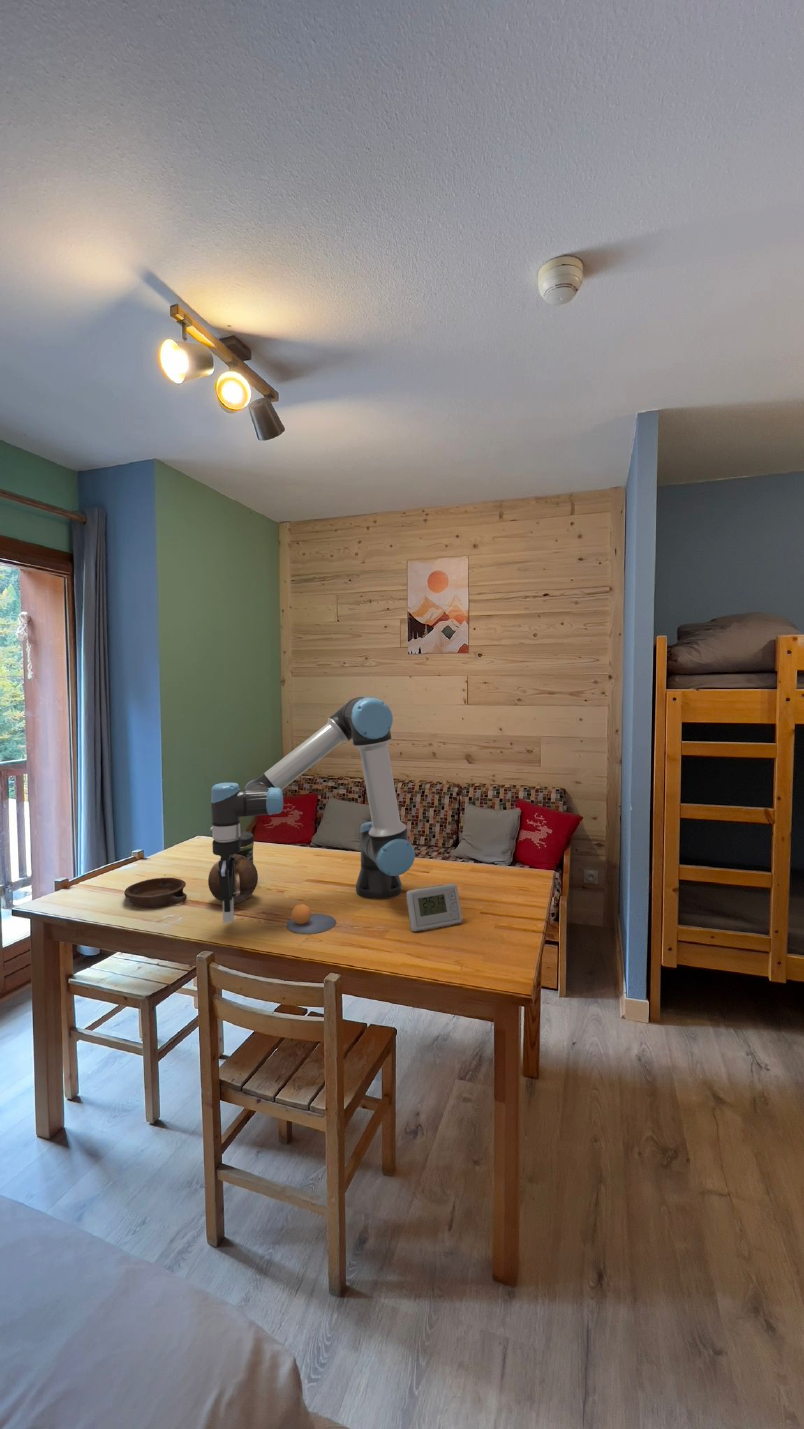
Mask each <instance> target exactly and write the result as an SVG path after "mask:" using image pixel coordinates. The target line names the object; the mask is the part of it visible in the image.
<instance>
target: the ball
mask: <svg viewBox="0 0 804 1429" xmlns="http://www.w3.org/2000/svg"><path fill="white" fill-rule="evenodd" d="M311 914H312V911H311V909H310V907H309V906H308V905H307V904H306V905H305V904H304V903H301V904H297V905H296V906H295V907H294V908H293V909H292V910H291V919H293V921H294V922H295V923H297V924H300V925H302V924H305V923H307V922H308V921H309V920H310V917H311Z"/></svg>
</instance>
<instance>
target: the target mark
mask: <svg viewBox="0 0 804 1429" xmlns="http://www.w3.org/2000/svg"><path fill="white" fill-rule="evenodd" d="M336 922H337V921H336V919H335V918H334V917H333V916H331V915H328V914H325V913H311V917H310V920H309V921H308V922H307V923H305V924H302V925H300V924H297V923H295V922H294V921H293V919H292V918H291V919H289V920H288V921H287V922H286V925H285V927H286V929H287V930H289V931H290V932H291V931H292V932H291V933H294V934H300V935H314V934H320V933H323V932H324V933H325V932H327V931H329V930H331V929H332V928H334V927H335V926H336V924H337V923H336Z"/></svg>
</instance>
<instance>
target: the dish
mask: <svg viewBox="0 0 804 1429" xmlns="http://www.w3.org/2000/svg"><path fill="white" fill-rule="evenodd" d="M186 885H187V882H186V881H184V880H183V879H182V878H181V879H180V878H175V877H155V878H149V879H145V880H142V881H138V882H135V883H133V884H131V885H129V886H127V887H126V889H125V890H124V896H125V898H126V899H127V898H128V901H129V903H130V904H131V905H132V906H135V907H139V908H146V909H147V908H150V909H151V908H162V907H165V906H170V905H172V904H175V903H176V904H178V903H184V902H186V900H187V896H188V895H187V893H185V892H184V888H185V887H186Z"/></svg>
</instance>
